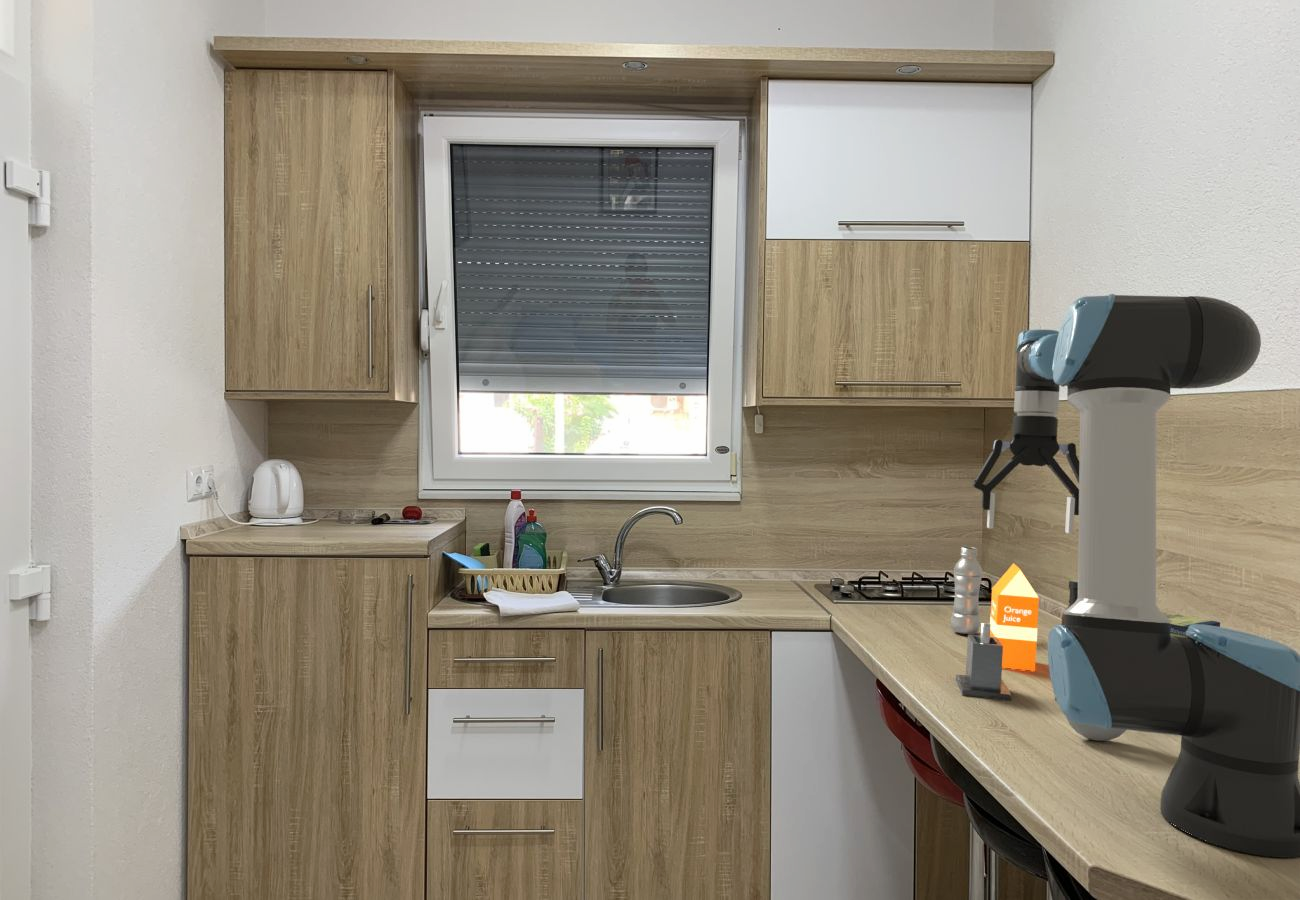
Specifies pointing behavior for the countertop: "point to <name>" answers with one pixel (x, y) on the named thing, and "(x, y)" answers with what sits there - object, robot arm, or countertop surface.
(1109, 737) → the grey rounded piece
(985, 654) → the grey rectangular holder
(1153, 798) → the countertop surface
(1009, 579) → the orange juice
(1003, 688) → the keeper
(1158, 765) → the countertop surface
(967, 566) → the plastic bottle
